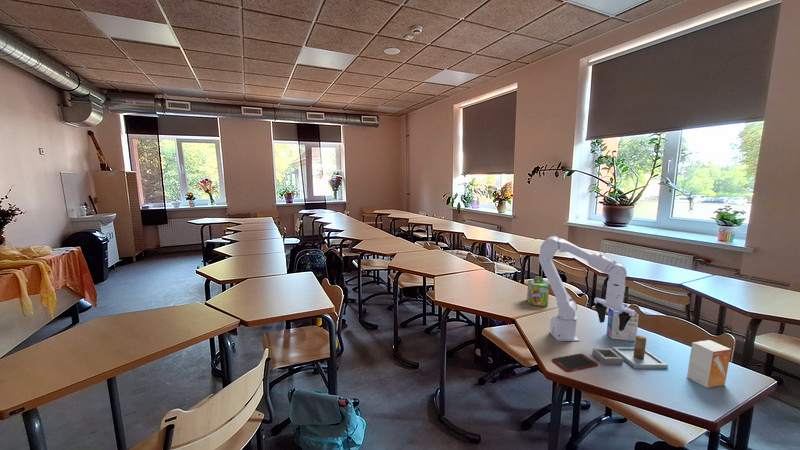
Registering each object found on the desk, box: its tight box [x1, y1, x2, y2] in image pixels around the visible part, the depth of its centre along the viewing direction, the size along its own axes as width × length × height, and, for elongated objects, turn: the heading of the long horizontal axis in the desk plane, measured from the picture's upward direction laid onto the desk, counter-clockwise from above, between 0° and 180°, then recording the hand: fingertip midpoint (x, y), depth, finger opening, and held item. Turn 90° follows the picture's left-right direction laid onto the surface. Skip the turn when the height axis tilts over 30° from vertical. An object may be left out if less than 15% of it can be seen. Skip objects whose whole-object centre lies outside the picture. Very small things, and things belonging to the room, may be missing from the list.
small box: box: [686, 339, 732, 389], centre depth 105 cm, size 8×6×13 cm
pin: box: [634, 334, 647, 360], centre depth 118 cm, size 3×3×8 cm
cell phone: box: [551, 353, 599, 373], centre depth 116 cm, size 8×15×1 cm, turn 107°
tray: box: [611, 346, 669, 370], centre depth 119 cm, size 12×12×2 cm
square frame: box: [592, 347, 624, 365], centre depth 119 cm, size 7×7×2 cm
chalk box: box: [526, 276, 550, 307], centre depth 173 cm, size 9×9×15 cm
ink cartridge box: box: [606, 303, 640, 342], centre depth 135 cm, size 10×6×14 cm, turn 78°
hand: (611, 326), depth 126 cm, fingers open, 7 cm apart
